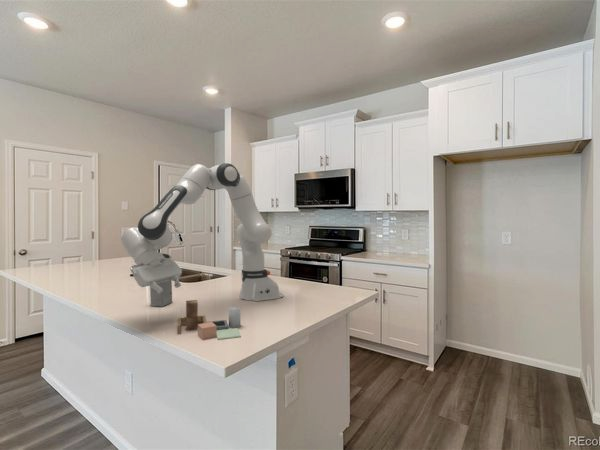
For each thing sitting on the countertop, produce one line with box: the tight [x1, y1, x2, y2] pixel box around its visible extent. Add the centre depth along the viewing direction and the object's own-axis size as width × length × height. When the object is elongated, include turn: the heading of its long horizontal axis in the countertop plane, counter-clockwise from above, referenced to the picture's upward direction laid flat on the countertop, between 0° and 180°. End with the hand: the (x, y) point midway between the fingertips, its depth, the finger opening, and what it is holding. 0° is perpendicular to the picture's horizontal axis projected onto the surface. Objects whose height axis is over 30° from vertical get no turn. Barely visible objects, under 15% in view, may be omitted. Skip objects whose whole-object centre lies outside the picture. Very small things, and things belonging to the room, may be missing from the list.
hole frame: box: [206, 319, 230, 330], centre depth 124 cm, size 8×8×2 cm
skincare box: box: [149, 280, 173, 307], centre depth 155 cm, size 8×7×16 cm
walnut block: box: [185, 299, 199, 331], centre depth 123 cm, size 4×4×10 cm
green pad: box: [216, 327, 242, 341], centre depth 117 cm, size 8×8×1 cm
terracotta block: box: [197, 321, 217, 340], centre depth 116 cm, size 5×5×4 cm
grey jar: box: [228, 305, 241, 329], centre depth 126 cm, size 4×4×7 cm
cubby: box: [176, 314, 207, 335], centre depth 123 cm, size 10×10×3 cm
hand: (170, 289), depth 126 cm, fingers open, 8 cm apart
